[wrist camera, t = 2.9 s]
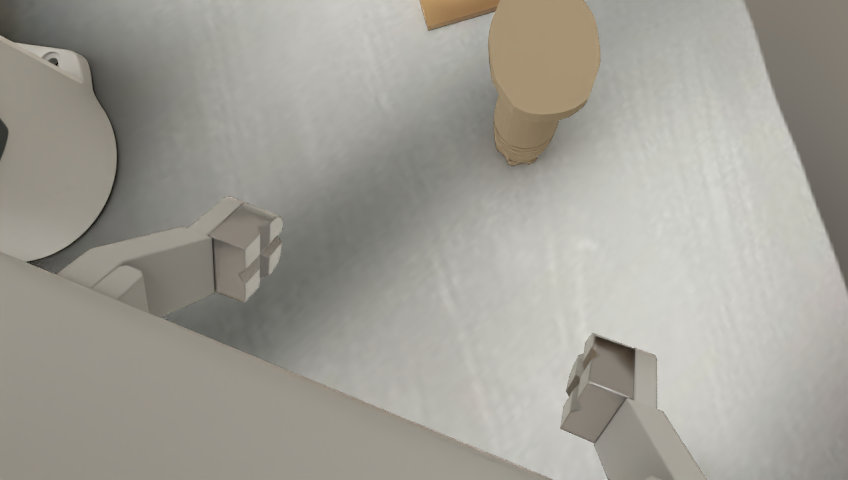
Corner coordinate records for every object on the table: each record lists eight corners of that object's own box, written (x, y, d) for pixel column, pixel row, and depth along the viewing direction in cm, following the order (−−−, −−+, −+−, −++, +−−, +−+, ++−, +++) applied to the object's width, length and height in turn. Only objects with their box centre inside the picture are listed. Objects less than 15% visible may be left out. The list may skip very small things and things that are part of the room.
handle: (548, 98, 41) (589, -27, 26) (558, 186, 40) (607, 108, 25) (480, 106, 41) (483, -14, 27) (489, 193, 40) (497, 119, 26)
